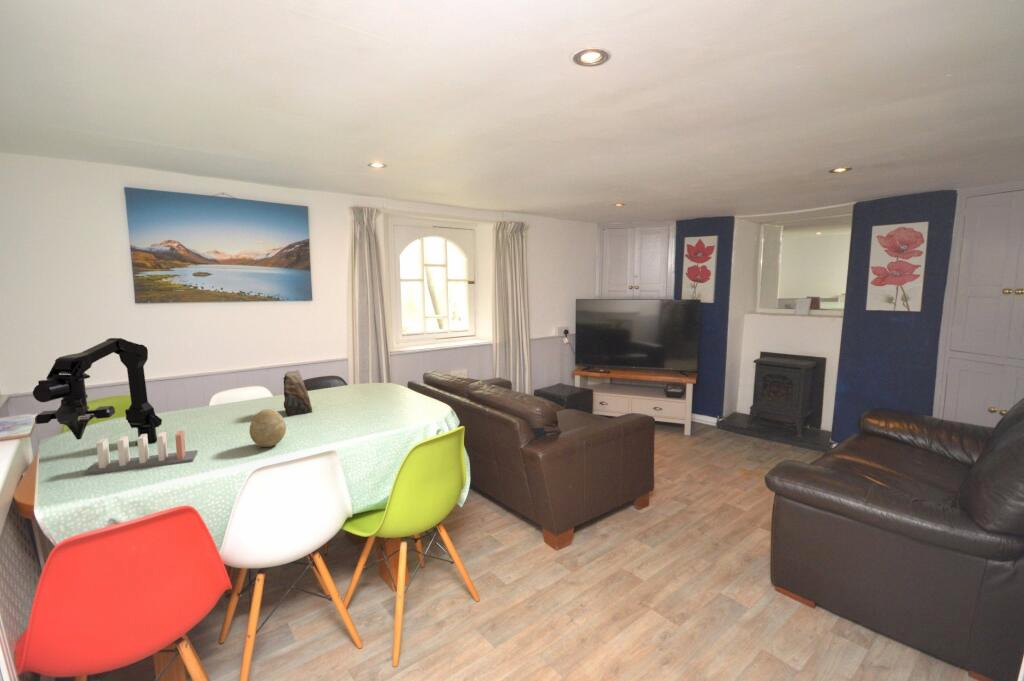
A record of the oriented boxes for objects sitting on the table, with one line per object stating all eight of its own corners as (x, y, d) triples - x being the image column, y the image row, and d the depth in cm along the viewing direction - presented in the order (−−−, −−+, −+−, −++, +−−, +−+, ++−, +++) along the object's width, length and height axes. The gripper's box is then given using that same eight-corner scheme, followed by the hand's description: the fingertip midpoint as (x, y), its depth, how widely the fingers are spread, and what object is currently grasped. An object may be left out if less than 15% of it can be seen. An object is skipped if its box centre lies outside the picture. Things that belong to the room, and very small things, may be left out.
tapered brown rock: (286, 417, 217) (284, 376, 215) (277, 411, 226) (275, 371, 224) (313, 412, 226) (311, 372, 223) (304, 406, 235) (302, 368, 232)
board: (95, 465, 160) (94, 462, 160) (197, 452, 173) (197, 450, 173) (84, 475, 152) (84, 472, 152) (192, 461, 165) (192, 458, 165)
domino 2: (124, 460, 162) (122, 436, 161) (130, 459, 163) (127, 435, 161) (119, 465, 157) (117, 440, 156) (125, 465, 158) (123, 440, 157)
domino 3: (143, 458, 164) (141, 434, 163) (149, 457, 165) (147, 433, 164) (139, 463, 160) (137, 438, 159) (145, 462, 160) (143, 438, 159)
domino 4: (162, 456, 167) (160, 432, 165) (167, 455, 167) (165, 431, 166) (158, 461, 162) (156, 436, 161) (164, 460, 163) (162, 436, 162)
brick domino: (180, 454, 168) (178, 431, 167) (185, 453, 169) (183, 430, 168) (177, 459, 164) (175, 435, 163) (182, 458, 164) (180, 434, 163)
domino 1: (104, 463, 160) (101, 438, 158) (110, 462, 160) (107, 437, 159) (99, 468, 155) (96, 443, 154) (105, 467, 156) (102, 442, 155)
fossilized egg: (292, 440, 187) (291, 405, 185) (276, 452, 175) (274, 414, 173) (262, 439, 188) (260, 404, 186) (243, 451, 175) (241, 413, 173)
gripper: (23, 403, 140) (29, 451, 143) (101, 397, 148) (106, 443, 151) (40, 394, 150) (46, 439, 153) (113, 389, 158) (117, 432, 161)
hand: (79, 439), depth 154 cm, fingers closed
